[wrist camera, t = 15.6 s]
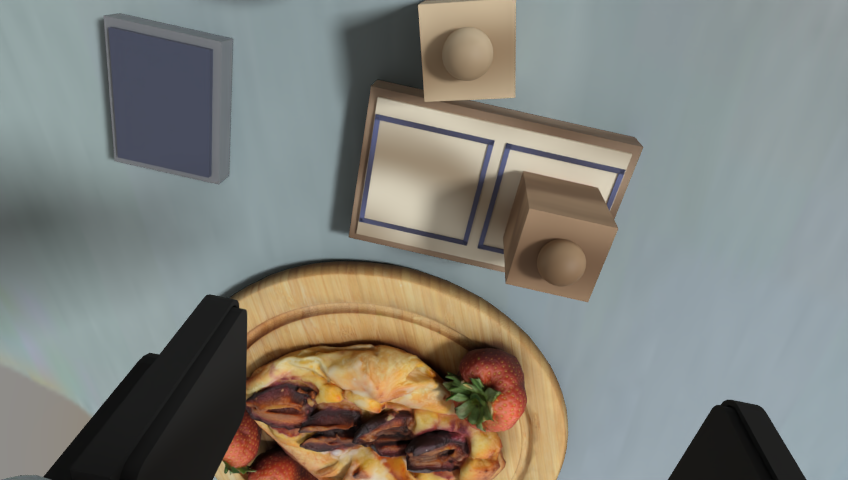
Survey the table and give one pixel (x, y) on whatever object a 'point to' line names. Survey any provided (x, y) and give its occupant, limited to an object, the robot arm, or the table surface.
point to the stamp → (557, 236)
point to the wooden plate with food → (390, 382)
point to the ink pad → (169, 97)
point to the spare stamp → (468, 49)
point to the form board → (468, 171)
